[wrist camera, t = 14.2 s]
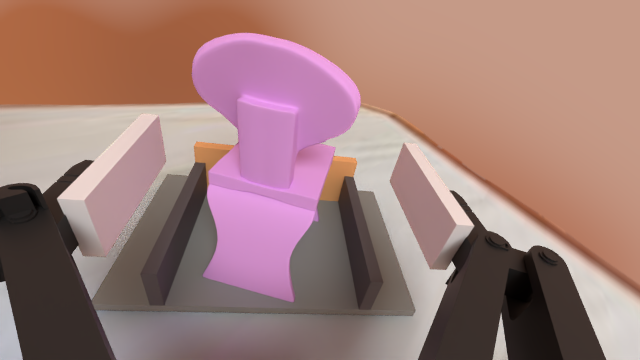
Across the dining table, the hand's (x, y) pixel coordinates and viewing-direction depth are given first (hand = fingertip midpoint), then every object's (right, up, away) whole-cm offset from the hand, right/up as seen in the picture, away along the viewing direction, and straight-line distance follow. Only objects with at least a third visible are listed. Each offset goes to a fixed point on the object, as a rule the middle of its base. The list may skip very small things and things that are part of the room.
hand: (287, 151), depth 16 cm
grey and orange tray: (-2, -7, +7) cm, 10 cm away
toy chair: (-2, -7, +7) cm, 9 cm away
